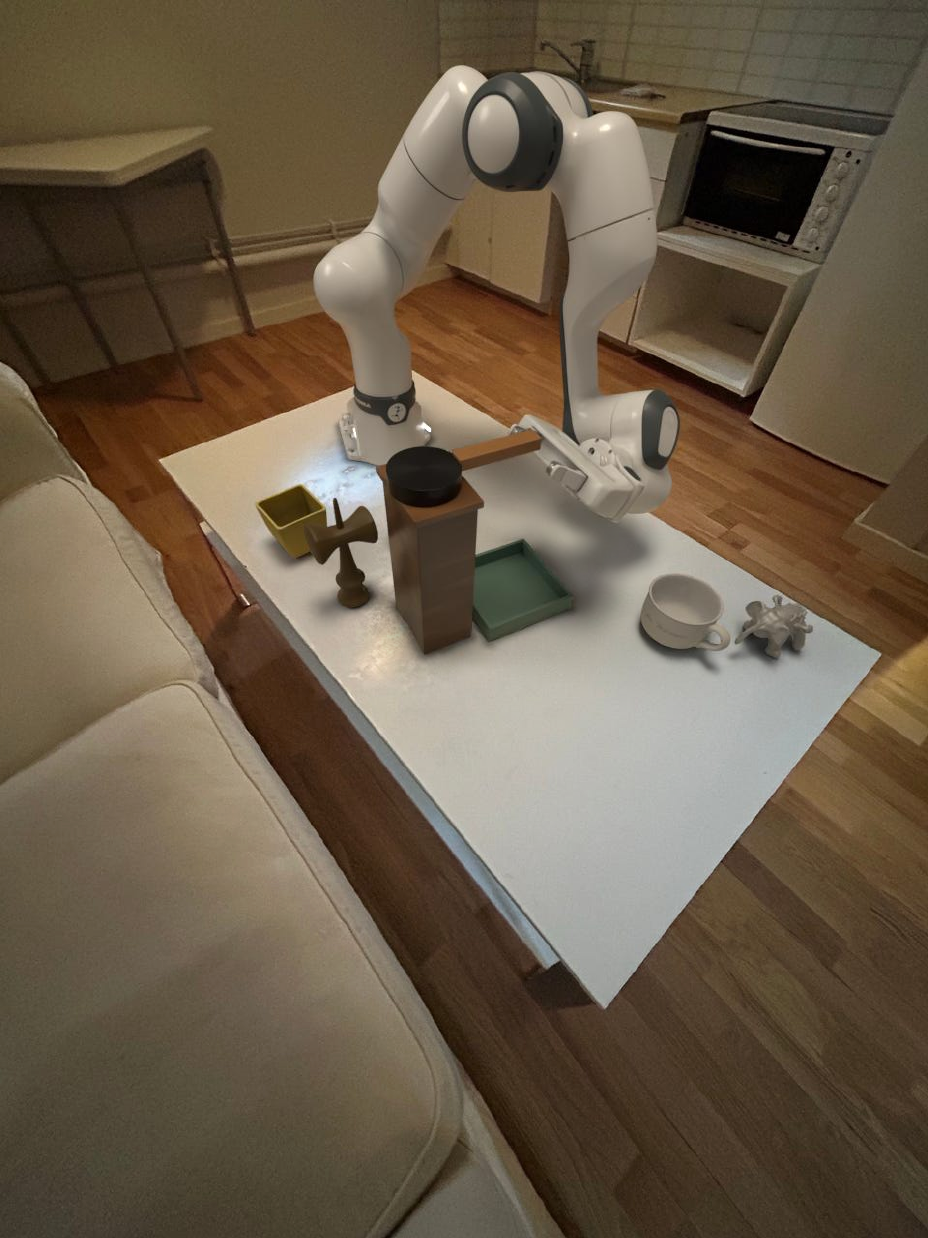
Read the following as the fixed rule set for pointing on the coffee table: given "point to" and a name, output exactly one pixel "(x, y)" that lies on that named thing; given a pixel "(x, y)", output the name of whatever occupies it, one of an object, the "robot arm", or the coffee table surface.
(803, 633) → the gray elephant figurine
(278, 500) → the flower pot
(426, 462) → the skillet
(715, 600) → the teacup
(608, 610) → the coffee table surface
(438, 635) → the stand
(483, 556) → the tray
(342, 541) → the kendama
